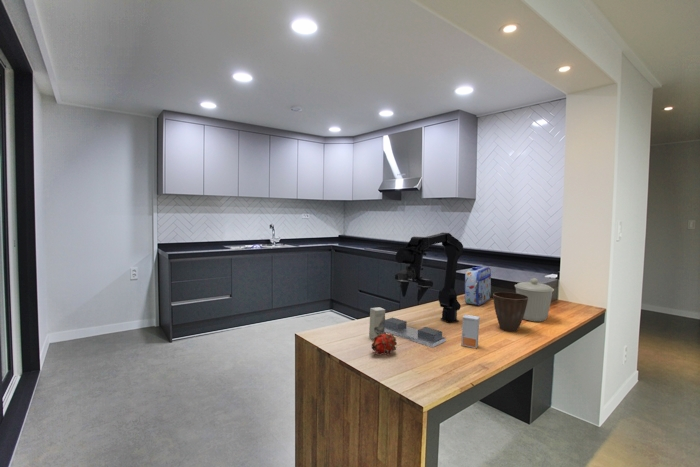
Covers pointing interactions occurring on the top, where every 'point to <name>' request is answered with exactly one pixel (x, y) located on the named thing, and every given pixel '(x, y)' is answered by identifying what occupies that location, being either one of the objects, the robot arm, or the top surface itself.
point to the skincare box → (470, 331)
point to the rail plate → (414, 332)
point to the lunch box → (477, 285)
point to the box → (376, 322)
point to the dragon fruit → (384, 343)
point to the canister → (535, 299)
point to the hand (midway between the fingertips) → (410, 298)
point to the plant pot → (509, 309)
